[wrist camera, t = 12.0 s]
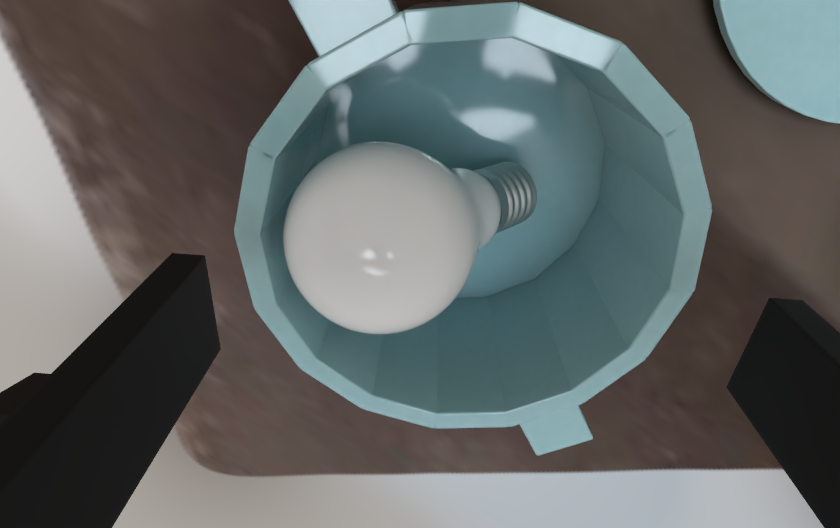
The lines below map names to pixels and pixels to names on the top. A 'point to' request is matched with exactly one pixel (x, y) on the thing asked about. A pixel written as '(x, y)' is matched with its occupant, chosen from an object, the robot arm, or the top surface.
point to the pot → (507, 250)
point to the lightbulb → (395, 232)
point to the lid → (787, 51)
